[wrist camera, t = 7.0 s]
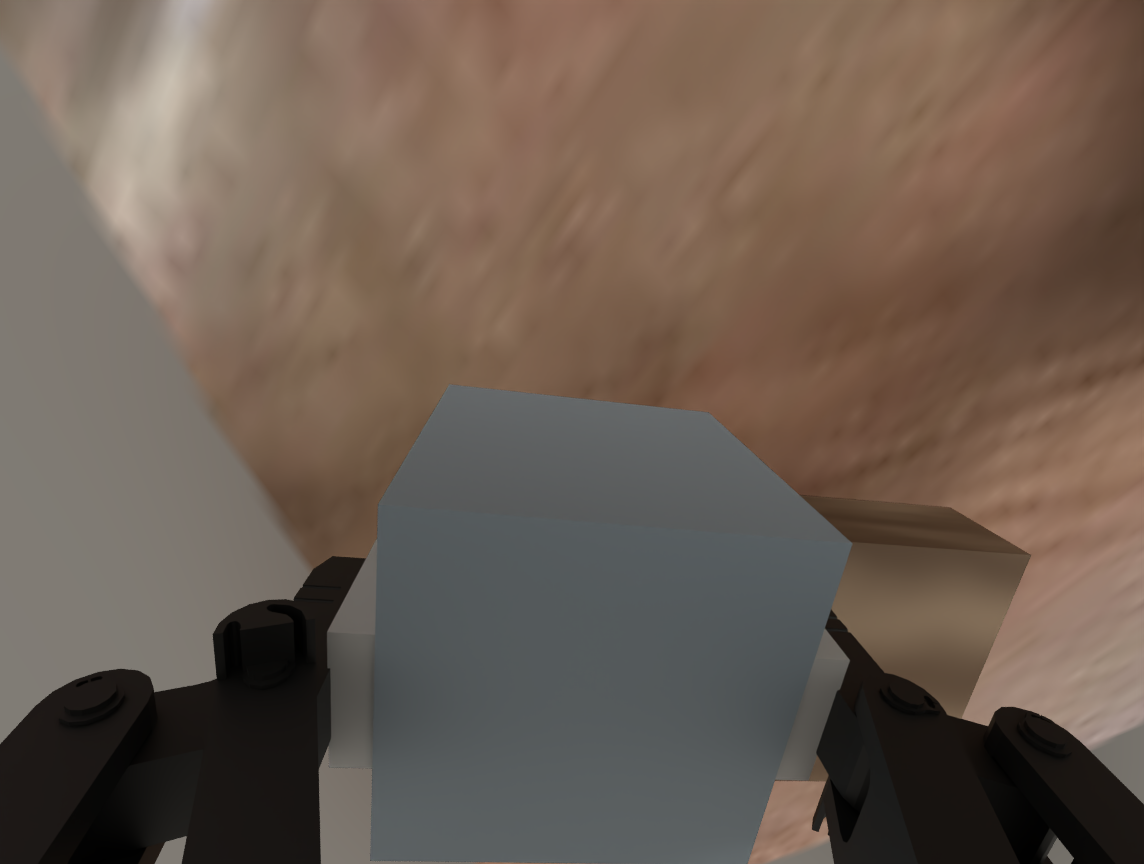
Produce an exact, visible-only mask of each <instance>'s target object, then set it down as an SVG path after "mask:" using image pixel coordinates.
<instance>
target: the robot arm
mask: <svg viewBox="0 0 1144 864" xmlns="http://www.w3.org/2000/svg"><path fill="white" fill-rule="evenodd" d="M376 574H377V539H376V541H375V543H374V545H373V547H372V549H371V550H370V552H369V554H368V556H367V558H366V559H364V558H350V557H335V556H332V557H331V558H329V559H328V560H326V561H325V562H323V563H322V564H320V565H319V566H317V567H316V568H314V569H313V571H312V572H311V574H310V575H309V577H308V578H307V579H306V581H305V583H304V584H303V587H302V588H300V590H299V591H298V593H297V594H296V596H295V597H294V601H291V600H286V599H284V600H266V601H262V602H258V603H254V604H249V605H247V606H245V607H243V608H241V609H239V610H237V611H235V612H232V613H231V614H230V615H228V616H227V617H226V618H225V619H223V620H222V621H221V622H220V623H219V624H218V626H217V628H216V630H215V631H214V633H213V642H214V654H215V664H216V675H217V679H215V680H212V681H209V682H205V683H201V684H198V685H193V686H187V687H181V688H176V689H171V690H165V691H160V692H154V689H153V685H152V682H151V679H150V677H149V676H147V675H145V674H143V673H142V672H140V671H136V670H126V669H116V670H109V671H102V672H97V673H94V674H91V675H88V676H85V677H82V678H79V679H76V680H74V681H72V682H70V683H68V684H66V685H64V686H63V687H61V688H59V689H57V690H55V691H53V692H52V693H51V694H49V695H48V696H47V697H46V698H45V699H43V700H42V701H41V702H40V703H39V704H37V705H36V706H35V707H34V708H33V709H32V710H31V711H30V713H29V714H28V715H27V716H26V717H25V718H24V719H23V720H22V721H21V722H20V723H19V724H18V726H17V727H16V728H15V729H14V730H13V731H12V732H11V733H10V734H9V735H8V737H7V738H6V739H5V740H4V741H3V742H2V743H1V744H0V864H155V862H156V860H157V858H158V856H159V854H160V852H161V849H162V848H163V846H164V843H165V842H166V841H170V840H174V839H177V838H181V837H184V836H187V839H186V845H185V849H184V855H183V859H182V864H321V855H320V816H319V815H320V812H319V774H318V773H319V772H318V771H319V767H320V764H321V762H322V760H323V757H324V755H325V752H326V750H327V747H328V745H329V767H331V768H366V769H368V768H369V769H372V761H373V714H374V667H375V621H376ZM817 756H818V757H819V759H820V761H821V763H822V764H823V766H824V768H825V770H826V771H827V773H828V778H827V781H826V784H825V786H824V789H823V792H822V795H821V798H820V800H819V803H818V806H817V809H816V812H815V814H814V817H813V823H812V830H814V831H817V832H819V829H820V826H821V824H822V821H823V819H824V818H825V817H826V818H827V824H828V830H829V831H828V835H829V836H830V842H831V848H832V854H833V859H834V864H1053V863H1052V862H1051V861H1050V859H1049V858H1048V856H1047V855H1048V853H1049V851H1050V849H1051V848H1052V846H1053V844H1054V842H1055V840H1056V839H1057V837H1058V839H1059V840H1060V841H1061V842H1062V844H1063V845H1064V846H1065V847H1066V849H1067V850H1068V851H1069V852H1070V854H1071V855H1072V856H1073V857H1074V859H1073V861H1072V863H1071V864H1144V804H1143V803H1142V802H1141V801H1140V800H1139V799H1138V798H1137V797H1136V796H1135V795H1134V794H1133V793H1132V792H1131V791H1130V790H1129V789H1128V788H1127V787H1126V786H1125V785H1124V784H1123V783H1122V782H1120V780H1119V779H1117V777H1116V776H1114V774H1113V773H1111V771H1109V769H1108V768H1106V766H1105V765H1104V764H1102V763H1101V762H1100V761H1099V760H1098V759H1097V758H1096V757H1095V756H1094V755H1093V754H1092V753H1091V752H1090V751H1089V750H1088V749H1087V748H1086V747H1085V746H1084V745H1083V744H1082V743H1081V742H1080V741H1079V740H1078V739H1076V738H1075V737H1074V736H1073V735H1072V734H1070V733H1069V732H1068V731H1067V730H1065V729H1064V728H1062V727H1060V726H1059V725H1057V724H1055V723H1054V722H1053V721H1052V720H1050V719H1048V718H1046V717H1044V716H1042V715H1041V716H1040V715H1039V714H1037V713H1034V712H1031V711H1028V710H1024V709H1020V708H1016V707H1001V708H1000V709H998V710H997V711H996V712H995V713H994V715H993V717H992V719H991V722H990V724H989V726H985V725H981V724H978V723H974V722H971V721H967V720H964V719H960V718H957V717H953V716H949V715H947V713H946V711H945V710H944V709H943V707H942V706H941V705H940V703H939V702H938V700H936V699H935V698H934V697H933V696H932V695H931V694H929V693H928V692H927V691H926V690H925V689H923V688H921V687H920V686H918V685H916V684H915V683H913V682H911V681H910V680H907V679H904V678H902V677H899V676H897V675H894V674H888V673H884V671H883V670H882V669H881V668H880V667H879V665H878V664H877V663H876V662H875V661H874V660H873V658H872V657H871V656H870V655H869V654H868V652H867V651H866V650H865V649H864V648H863V646H862V645H861V644H860V643H859V642H858V641H857V639H856V638H855V637H854V636H853V635H852V633H850V632H848V629H847V628H846V626H845V625H844V624H843V623H842V622H841V620H839V619H837V616H836V614H835V613H834V612H833V611H832V610H831V611H830V614H829V617H828V620H827V623H826V626H825V629H824V632H823V635H822V638H821V641H820V644H819V647H818V650H817V653H816V656H815V660H814V663H813V666H812V669H811V672H810V675H809V678H808V681H807V684H806V687H805V690H804V693H803V696H802V699H801V702H800V705H799V708H798V711H797V714H796V717H795V720H794V723H793V727H792V730H791V733H790V736H789V739H788V742H787V745H786V748H785V751H784V754H783V757H782V760H781V763H780V766H779V769H778V772H777V775H776V778H775V780H801V781H809V778H810V775H811V772H812V769H813V766H814V763H815V760H816V757H817Z"/></svg>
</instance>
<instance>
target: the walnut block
mask: <svg viewBox="0 0 1144 864" xmlns="http://www.w3.org/2000/svg"><path fill="white" fill-rule="evenodd" d="M800 496H801V497H802V498H803V499H804V500H805V501H806V502H807V503H809V504H810V505H811V506H812V507H813V508H814V509H815V510H816V511H817V512H818V513H820V514H821V515H822V516H823V517H824V518H825V519H826V520H827V521H828V522H829V523H831V524H832V525H833V526H834V527H835V528H836V529H837V530H838V531H839V532H840V533H841V534H843V535H844V536H845V537H846V538H847V539H848V540H849V541H850V542H851V543H852V547H851V550H850V553H849V556H848V559H847V562H846V565H845V568H844V571H843V574H842V577H841V580H840V583H839V586H838V589H837V592H836V596H835V599H834V602H833V605H832V608H831V610H832V611H833V612H834V613H835V614H836V616H837V619H839V620H841V622H842V623H843V624H844V625H845V626H846V628H847V629H848V632H850V633H852V635H853V636H854V637H855V638H856V639H857V641H858V642H859V643H860V644H861V645H862V646H863V648H864V649H865V650H866V651H867V652H868V654H869V655H870V656H871V657H872V658H873V660H874V661H875V662H876V663H877V664H878V665H879V667H880V668H881V669H882V670H883V671H884V673H888V674H894V675H897V676H899V677H902V678H904V679H907V680H910V681H911V682H913V683H915V684H916V685H918V686H920V687H921V688H923V689H925V690H926V691H927V692H928V693H929V694H931V695H932V696H933V697H934V698H935V699H936V700H938V702H939V703H940V705H941V706H942V707H943V709H944V710H945V711H946V713H947V715H949V716H953V717H957V718H960V719H961V718H962V716H963V713H964V711H965V709H966V706H967V704H968V702H969V699H970V697H971V695H972V692H973V690H974V688H975V685H976V683H977V681H978V678H979V676H980V674H981V671H982V669H983V667H984V664H985V662H986V660H987V657H988V655H989V653H990V650H991V648H992V646H993V643H994V641H995V639H996V636H997V634H998V632H999V629H1000V627H1001V625H1002V622H1003V620H1004V617H1005V615H1006V613H1007V610H1008V608H1009V606H1010V603H1011V601H1012V599H1013V596H1014V594H1015V592H1016V589H1017V587H1018V585H1019V582H1020V580H1021V578H1022V575H1023V573H1024V571H1025V568H1026V566H1027V564H1028V561H1029V559H1030V557H1031V555H1030V554H1028V553H1027V552H1025V551H1023V550H1022V549H1020V548H1018V547H1017V546H1015V545H1013V544H1011V543H1010V542H1008V541H1006V540H1005V539H1003V538H1001V537H1000V536H998V535H996V534H994V533H993V532H991V531H989V530H988V529H986V528H984V527H983V526H981V525H979V524H977V523H976V522H974V521H972V520H971V519H969V518H967V517H966V516H964V515H962V514H960V513H959V512H957V511H955V510H954V509H952V508H949V507H937V506H925V505H913V504H901V503H889V502H877V501H865V500H853V499H841V498H829V497H817V496H805V495H800ZM827 778H828V773H827V771H826V770H825V768H824V766H823V764H822V763H821V761H820V759H819V757H818V756H817V757H816V760H815V763H814V766H813V769H812V772H811V775H810V778H809V781H827ZM775 781H801V780H775Z"/></svg>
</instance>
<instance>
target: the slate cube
mask: <svg viewBox="0 0 1144 864" xmlns="http://www.w3.org/2000/svg"><path fill="white" fill-rule="evenodd" d="M851 547H852V543H851V542H850V541H849V540H848V539H847V538H846V537H845V536H844V535H843V534H841V533H840V532H839V531H838V530H837V529H836V528H835V527H834V526H833V525H832V524H831V523H829V522H828V521H827V520H826V519H825V518H824V517H823V516H822V515H821V514H820V513H818V512H817V511H816V510H815V509H814V508H813V507H812V506H811V505H810V504H809V503H807V502H806V501H805V500H804V499H803V498H802V497H801V496H800V495H799V494H798V493H796V492H795V491H794V490H793V489H792V488H791V487H790V486H789V485H788V484H787V483H786V482H784V481H783V480H782V479H781V478H780V477H779V476H778V475H777V474H776V473H775V472H773V471H772V470H771V469H770V468H769V467H768V466H767V465H766V464H765V463H764V462H762V461H761V460H760V459H759V458H758V457H757V456H756V455H755V454H754V453H753V452H751V451H750V450H749V449H748V448H747V447H746V446H745V445H744V444H743V443H742V442H740V441H739V440H738V439H737V438H736V437H735V436H734V435H733V434H732V433H731V432H730V431H728V430H727V429H726V428H725V427H724V426H723V425H722V424H721V423H720V422H719V421H717V420H716V419H715V418H714V417H713V416H712V415H711V414H710V413H709V412H700V411H691V410H682V409H672V408H663V407H654V406H644V405H635V404H626V403H617V402H607V401H598V400H589V399H580V398H570V397H561V396H552V395H542V394H533V393H524V392H515V391H505V390H496V389H487V388H478V387H468V386H459V385H450V384H449V386H448V388H447V389H446V391H445V393H444V394H443V396H442V398H441V399H440V401H439V403H438V404H437V406H436V408H435V409H434V411H433V413H432V414H431V416H430V418H429V420H428V421H427V423H426V425H425V426H424V428H423V430H422V431H421V433H420V435H419V436H418V438H417V440H416V441H415V443H414V445H413V446H412V448H411V450H410V451H409V453H408V455H407V457H406V458H405V460H404V462H403V463H402V465H401V467H400V468H399V470H398V472H397V473H396V475H395V477H394V478H393V480H392V482H391V483H390V485H389V487H388V488H387V490H386V492H385V494H384V495H383V497H382V499H381V500H380V502H379V504H378V527H377V574H376V621H375V667H374V714H373V761H372V808H371V854H370V861H434V862H435V861H436V862H520V863H606V864H748V861H749V858H750V854H751V851H752V848H753V845H754V842H755V839H756V836H757V833H758V830H759V827H760V824H761V821H762V818H763V815H764V812H765V809H766V806H767V803H768V800H769V797H770V794H771V790H772V787H773V784H774V781H775V778H776V775H777V772H778V769H779V766H780V763H781V760H782V757H783V754H784V751H785V748H786V745H787V742H788V739H789V736H790V733H791V730H792V727H793V723H794V720H795V717H796V714H797V711H798V708H799V705H800V702H801V699H802V696H803V693H804V690H805V687H806V684H807V681H808V678H809V675H810V672H811V669H812V666H813V663H814V660H815V656H816V653H817V650H818V647H819V644H820V641H821V638H822V635H823V632H824V629H825V626H826V623H827V620H828V617H829V614H830V611H831V608H832V605H833V602H834V599H835V596H836V592H837V589H838V586H839V583H840V580H841V577H842V574H843V571H844V568H845V565H846V562H847V559H848V556H849V553H850V550H851Z"/></svg>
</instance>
